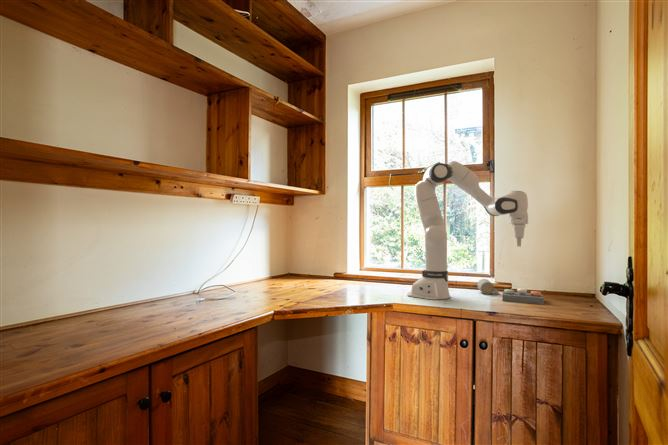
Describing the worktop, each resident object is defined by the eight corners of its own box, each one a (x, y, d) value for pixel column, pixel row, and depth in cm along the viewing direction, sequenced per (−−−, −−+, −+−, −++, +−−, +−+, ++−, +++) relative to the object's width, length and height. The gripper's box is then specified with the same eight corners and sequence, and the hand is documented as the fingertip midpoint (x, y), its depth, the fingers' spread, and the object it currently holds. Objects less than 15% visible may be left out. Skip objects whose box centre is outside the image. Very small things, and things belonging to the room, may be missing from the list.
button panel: (502, 300, 173) (502, 295, 173) (502, 296, 184) (502, 291, 184) (543, 304, 165) (543, 298, 165) (541, 299, 176) (541, 293, 176)
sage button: (504, 298, 176) (504, 290, 176) (504, 297, 180) (504, 289, 180) (513, 299, 174) (513, 291, 174) (513, 297, 178) (513, 289, 178)
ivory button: (517, 297, 174) (517, 289, 174) (517, 296, 177) (517, 287, 177) (527, 298, 172) (527, 290, 172) (526, 297, 175) (526, 288, 175)
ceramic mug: (480, 294, 190) (481, 280, 190) (477, 291, 198) (477, 278, 198) (501, 295, 188) (501, 281, 188) (496, 292, 196) (496, 279, 196)
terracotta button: (531, 300, 171) (530, 292, 171) (530, 299, 175) (530, 290, 175) (541, 301, 169) (541, 293, 169) (540, 300, 173) (540, 291, 173)
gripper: (512, 221, 195) (512, 245, 195) (512, 220, 177) (512, 247, 177) (524, 221, 192) (524, 245, 192) (526, 220, 174) (526, 247, 174)
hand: (519, 246), depth 184 cm, fingers closed
